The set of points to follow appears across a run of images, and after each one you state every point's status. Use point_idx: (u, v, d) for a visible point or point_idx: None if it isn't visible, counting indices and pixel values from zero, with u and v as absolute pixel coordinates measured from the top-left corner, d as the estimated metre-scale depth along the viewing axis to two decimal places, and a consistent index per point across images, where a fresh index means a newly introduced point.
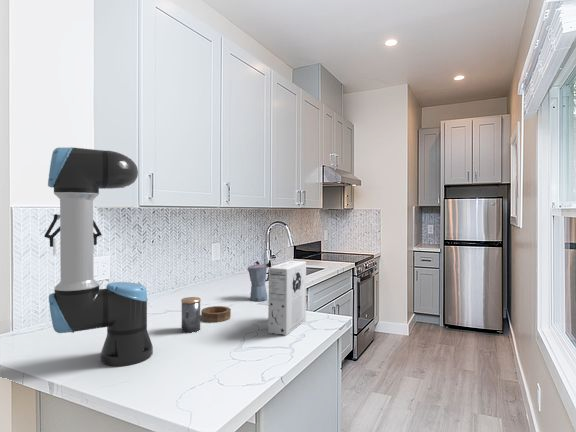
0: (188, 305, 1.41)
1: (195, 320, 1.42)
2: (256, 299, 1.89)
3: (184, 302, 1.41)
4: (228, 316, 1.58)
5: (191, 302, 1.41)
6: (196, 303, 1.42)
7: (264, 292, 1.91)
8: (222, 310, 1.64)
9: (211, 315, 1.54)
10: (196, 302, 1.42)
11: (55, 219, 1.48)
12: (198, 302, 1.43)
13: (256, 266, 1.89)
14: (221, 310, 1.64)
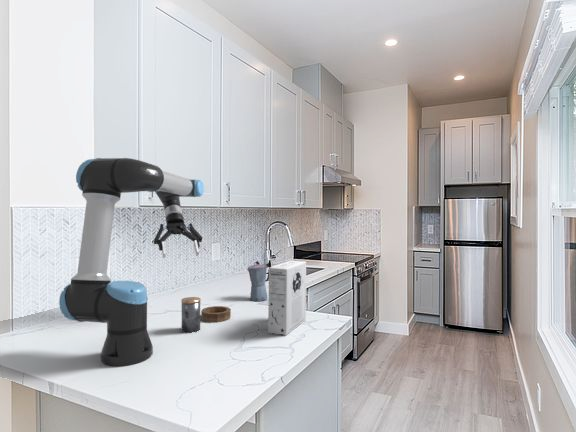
0: (188, 305, 1.41)
1: (195, 320, 1.42)
2: (256, 299, 1.89)
3: (184, 302, 1.41)
4: (228, 316, 1.58)
5: (191, 302, 1.41)
6: (196, 303, 1.42)
7: (264, 292, 1.91)
8: (222, 310, 1.64)
9: (211, 315, 1.54)
10: (196, 302, 1.42)
11: (161, 227, 1.60)
12: (198, 302, 1.43)
13: (256, 266, 1.89)
14: (221, 310, 1.64)
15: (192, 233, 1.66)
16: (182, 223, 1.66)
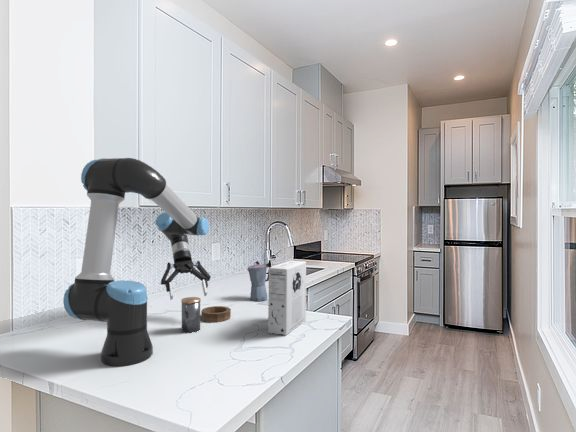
0: (188, 305, 1.41)
1: (195, 320, 1.42)
2: (256, 299, 1.89)
3: (184, 302, 1.41)
4: (228, 316, 1.58)
5: (191, 302, 1.41)
6: (196, 303, 1.42)
7: (264, 292, 1.91)
8: (222, 310, 1.64)
9: (211, 315, 1.54)
10: (196, 302, 1.42)
11: (169, 266, 1.56)
12: (198, 302, 1.43)
13: (256, 266, 1.89)
14: (221, 310, 1.64)
15: (200, 271, 1.62)
16: (190, 261, 1.61)
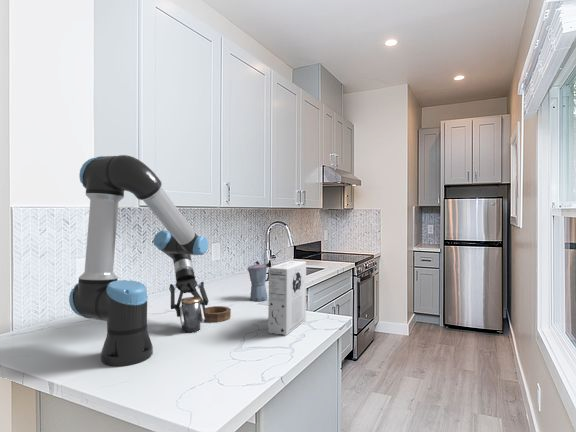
0: (188, 305, 1.41)
1: (195, 320, 1.42)
2: (256, 299, 1.89)
3: (184, 302, 1.41)
4: (228, 316, 1.58)
5: (191, 302, 1.41)
6: (196, 303, 1.42)
7: (264, 292, 1.91)
8: (222, 310, 1.64)
9: (211, 315, 1.54)
10: (196, 302, 1.42)
11: (173, 288, 1.47)
12: (198, 302, 1.43)
13: (256, 266, 1.89)
14: (221, 310, 1.64)
15: (201, 293, 1.52)
16: (194, 279, 1.53)
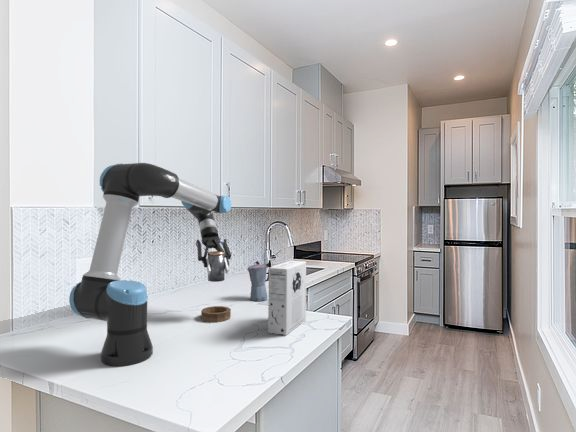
0: (214, 256, 1.56)
1: (221, 270, 1.57)
2: (256, 299, 1.89)
3: (210, 254, 1.56)
4: (228, 316, 1.58)
5: (217, 254, 1.56)
6: (221, 255, 1.57)
7: (264, 292, 1.91)
8: (222, 310, 1.64)
9: (211, 315, 1.54)
10: (221, 254, 1.57)
11: (199, 243, 1.62)
12: (223, 254, 1.58)
13: (256, 266, 1.89)
14: (221, 310, 1.64)
15: (224, 249, 1.67)
16: (217, 237, 1.69)
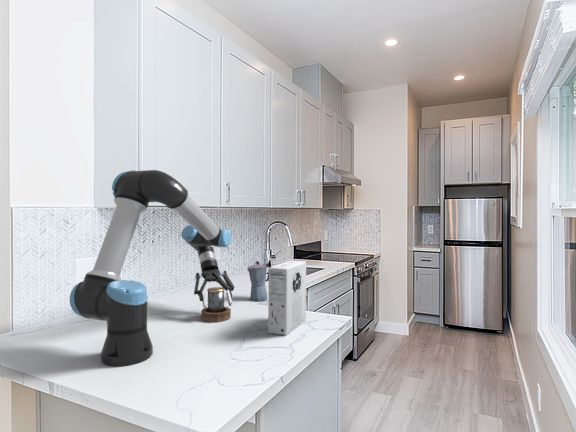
0: (214, 294, 1.57)
1: (220, 308, 1.58)
2: (256, 299, 1.89)
3: (210, 291, 1.57)
4: (228, 316, 1.58)
5: (216, 291, 1.57)
6: (221, 292, 1.58)
7: (264, 292, 1.91)
8: None
9: (211, 315, 1.54)
10: (221, 291, 1.58)
11: (198, 276, 1.63)
12: (222, 291, 1.59)
13: (256, 266, 1.89)
14: None
15: (225, 281, 1.68)
16: (217, 270, 1.69)
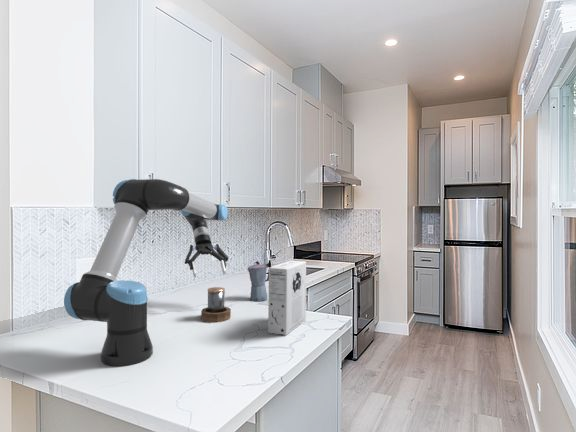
0: (214, 294, 1.57)
1: (220, 308, 1.58)
2: (256, 299, 1.89)
3: (210, 291, 1.57)
4: (228, 316, 1.58)
5: (217, 291, 1.57)
6: (221, 292, 1.58)
7: (264, 292, 1.91)
8: None
9: (211, 315, 1.54)
10: (221, 291, 1.58)
11: (191, 248, 1.74)
12: (223, 291, 1.59)
13: (256, 266, 1.89)
14: None
15: (219, 253, 1.80)
16: (209, 244, 1.80)
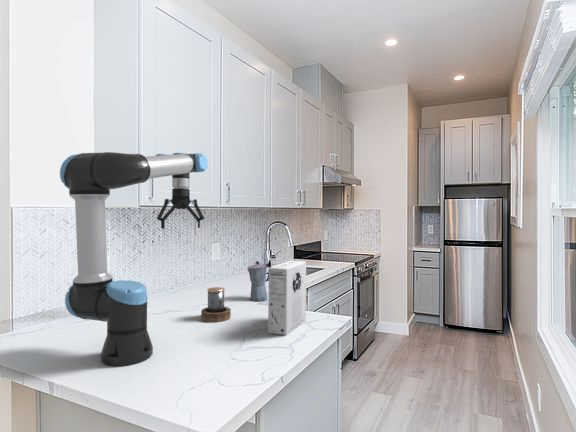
0: (214, 294, 1.57)
1: (220, 308, 1.58)
2: (256, 299, 1.89)
3: (210, 291, 1.57)
4: (228, 316, 1.58)
5: (217, 291, 1.57)
6: (221, 292, 1.58)
7: (264, 292, 1.91)
8: None
9: (211, 315, 1.54)
10: (221, 291, 1.58)
11: (166, 203, 1.62)
12: (223, 291, 1.59)
13: (256, 266, 1.89)
14: None
15: (195, 208, 1.70)
16: (187, 198, 1.66)
